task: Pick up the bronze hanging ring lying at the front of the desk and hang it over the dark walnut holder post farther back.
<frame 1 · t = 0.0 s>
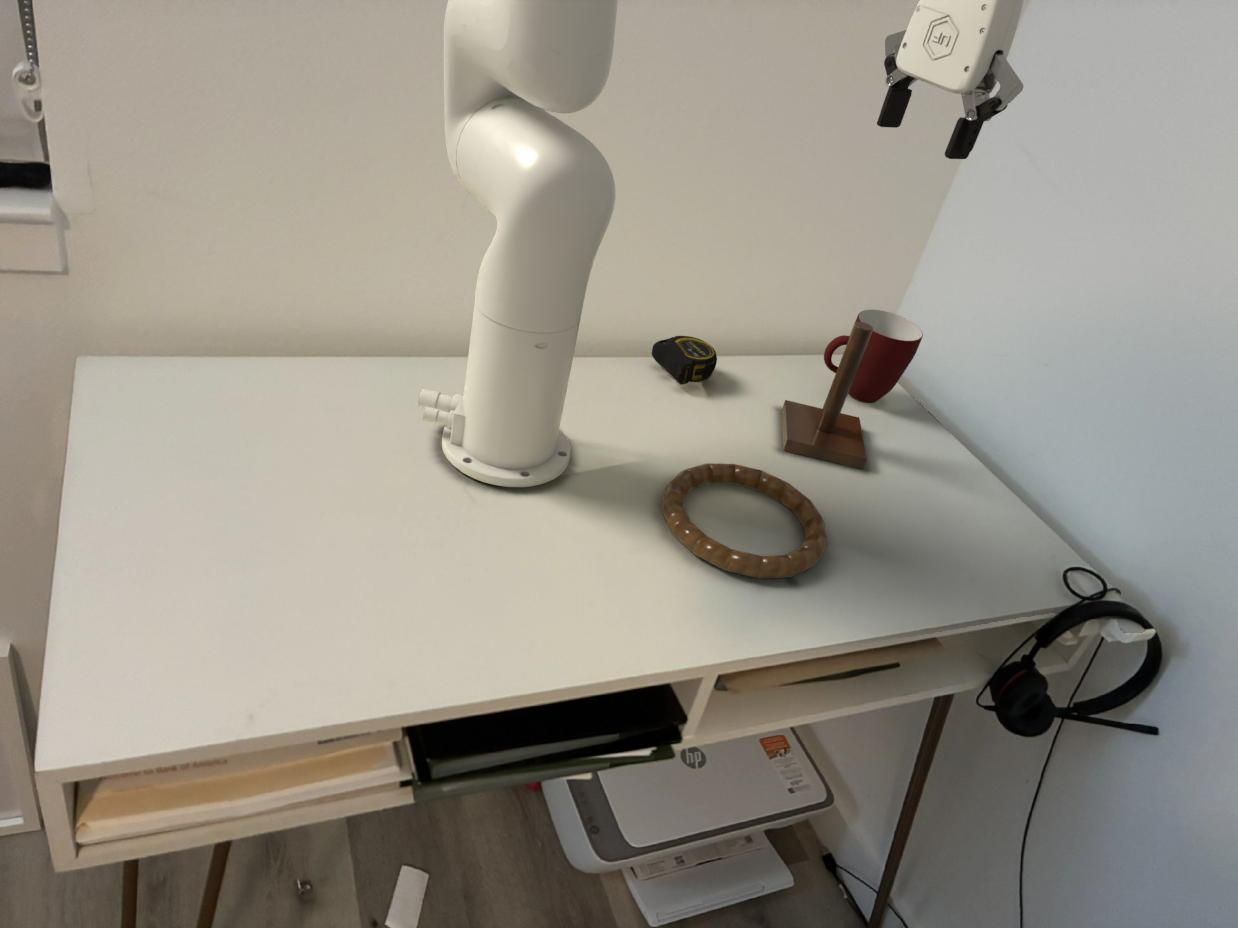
hand: (920, 141, 97), 31 cm above the table, tool pointing down, fingers open, 9 cm apart
tape measure: (679, 377, 111), on the table
ring: (744, 517, 88), point 1 cm above the table
post: (820, 438, 105), on the table
mug: (852, 395, 116), on the table
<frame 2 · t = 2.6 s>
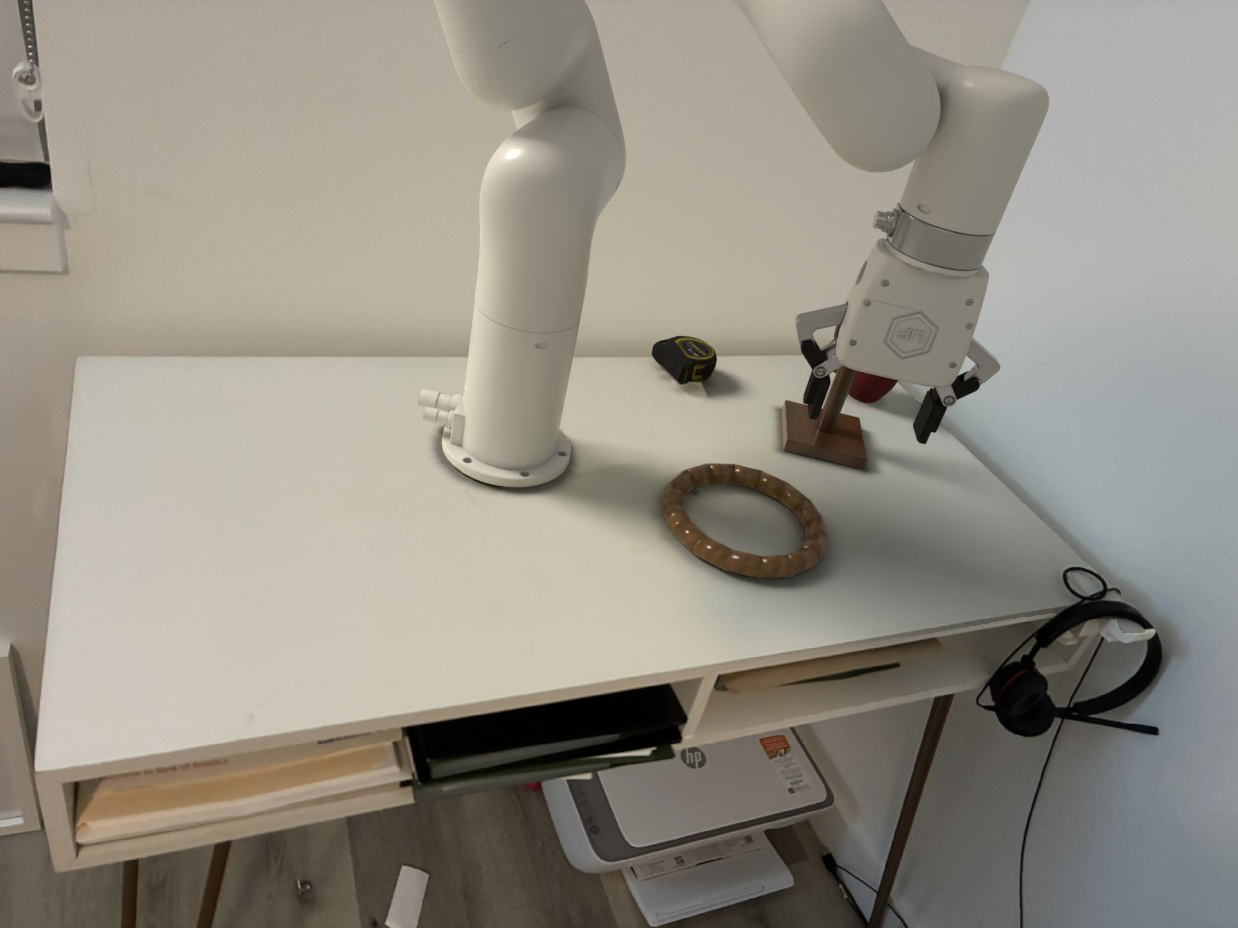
hand: (865, 423, 81), 14 cm above the table, tool pointing down, fingers open, 9 cm apart
nothing on the table moved.
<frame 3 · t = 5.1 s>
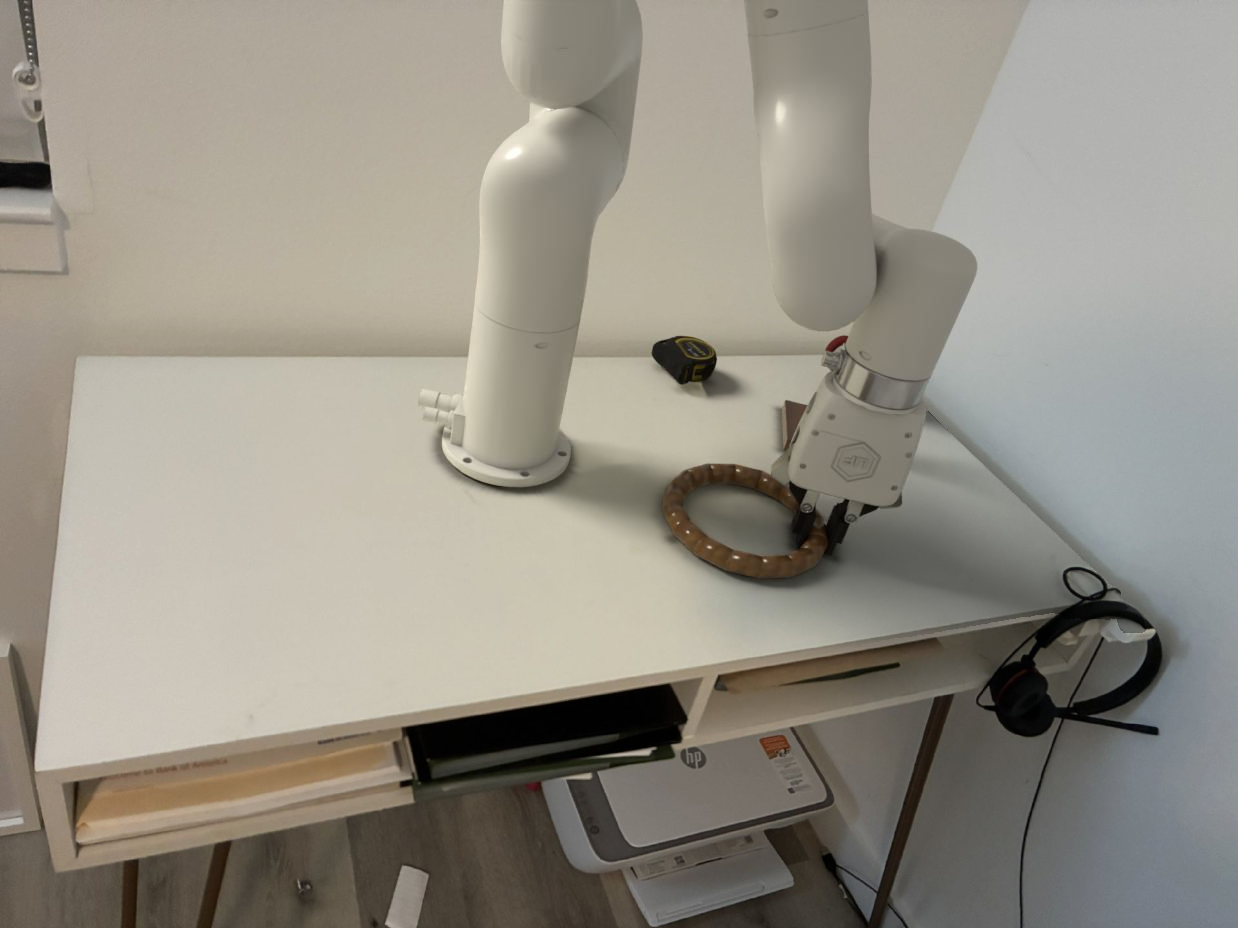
hand: (813, 540, 88), 0 cm above the table, tool pointing down, fingers closed on ring, 2 cm apart
ring: (745, 517, 88), point 1 cm above the table, touching gripper
everything else where it was.
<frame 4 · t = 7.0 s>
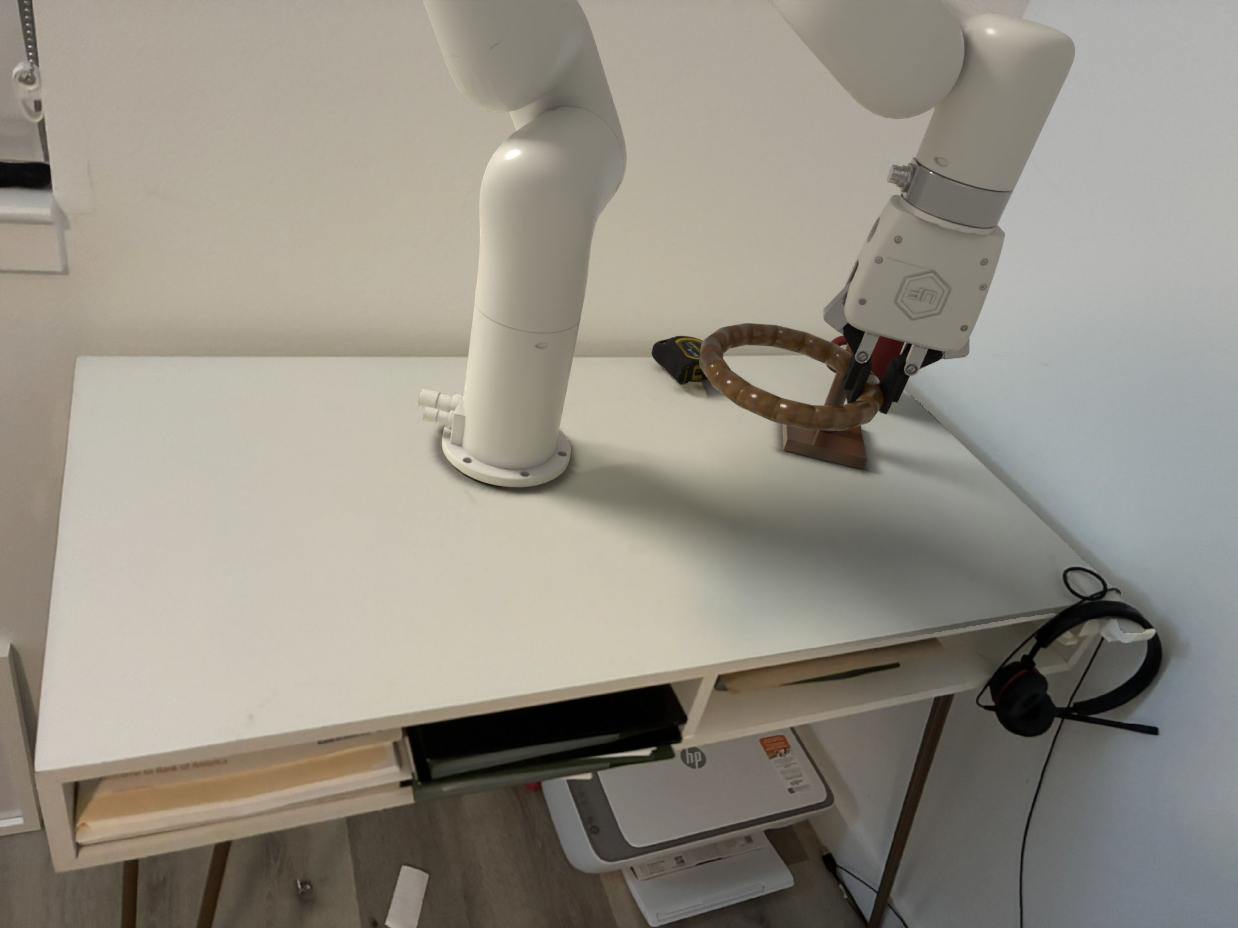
hand: (865, 400, 79), 16 cm above the table, tool pointing down, fingers closed on ring
ring: (790, 373, 79), point 17 cm above the table, touching gripper
everything else where it was.
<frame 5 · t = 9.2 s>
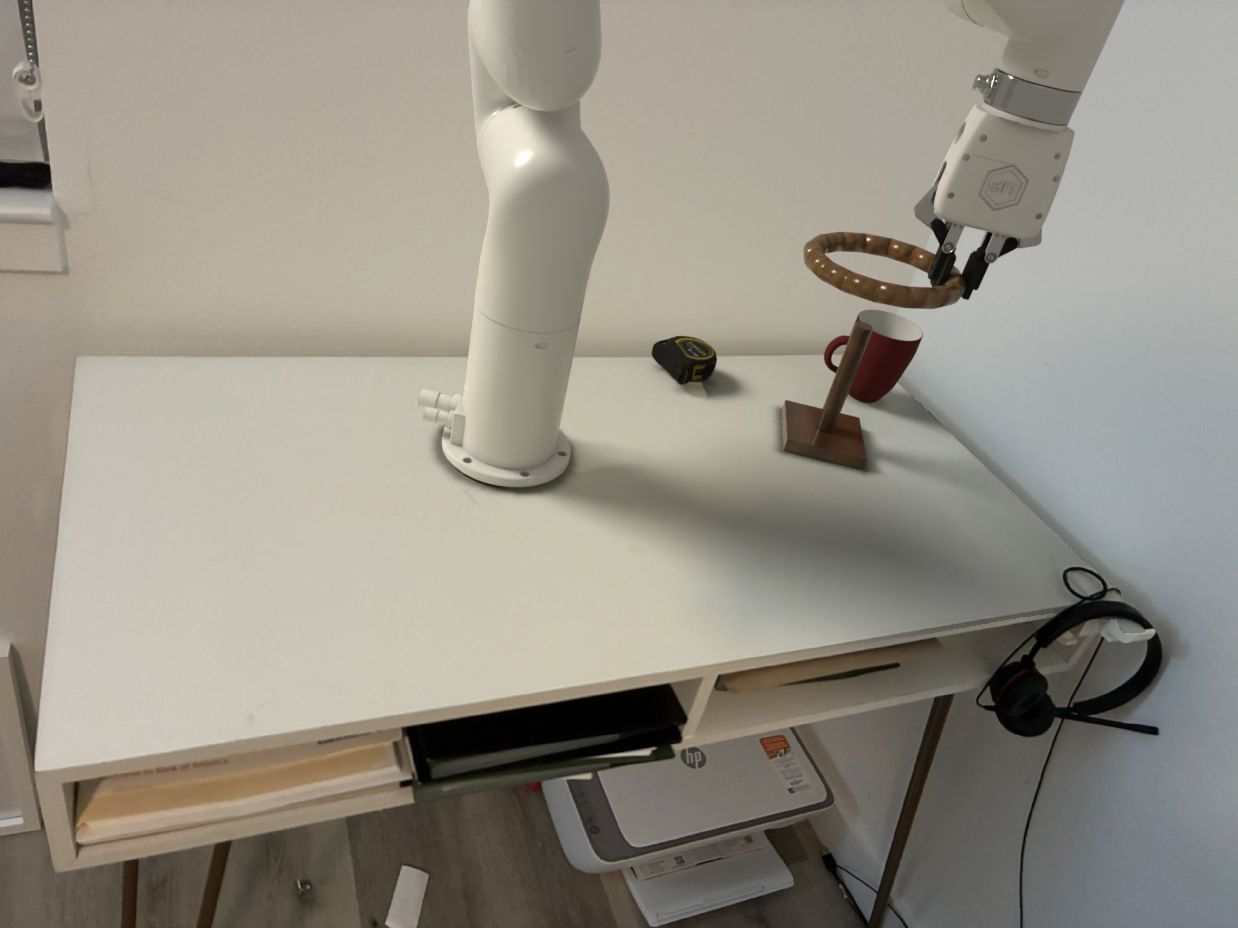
hand: (949, 289, 91), 21 cm above the table, tool pointing down, fingers closed on ring
ring: (883, 268, 91), point 22 cm above the table, touching gripper
everything else where it was.
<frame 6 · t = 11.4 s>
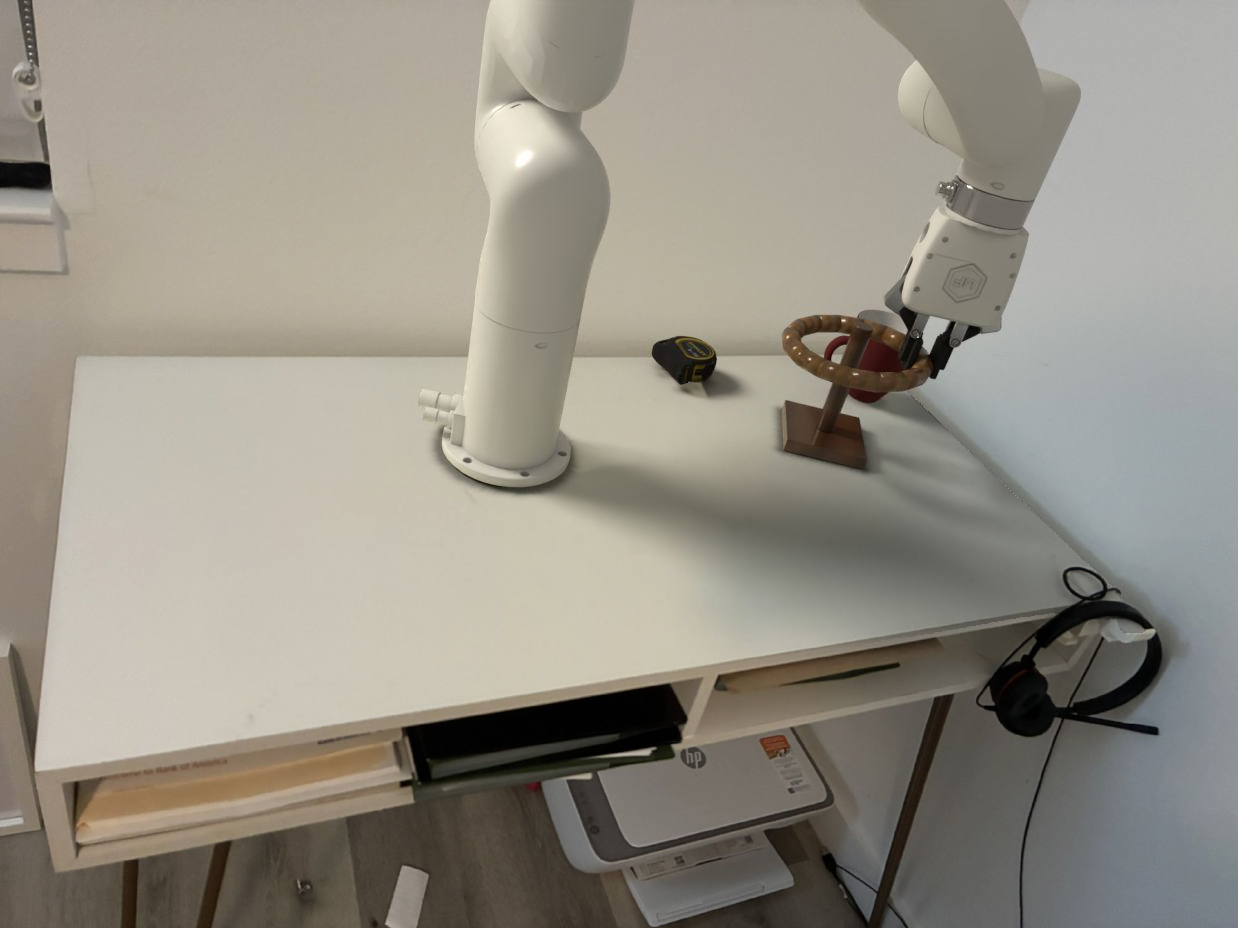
hand: (917, 369, 99), 11 cm above the table, tool pointing down, fingers closed on ring
ring: (856, 351, 99), point 11 cm above the table, touching gripper
everything else where it was.
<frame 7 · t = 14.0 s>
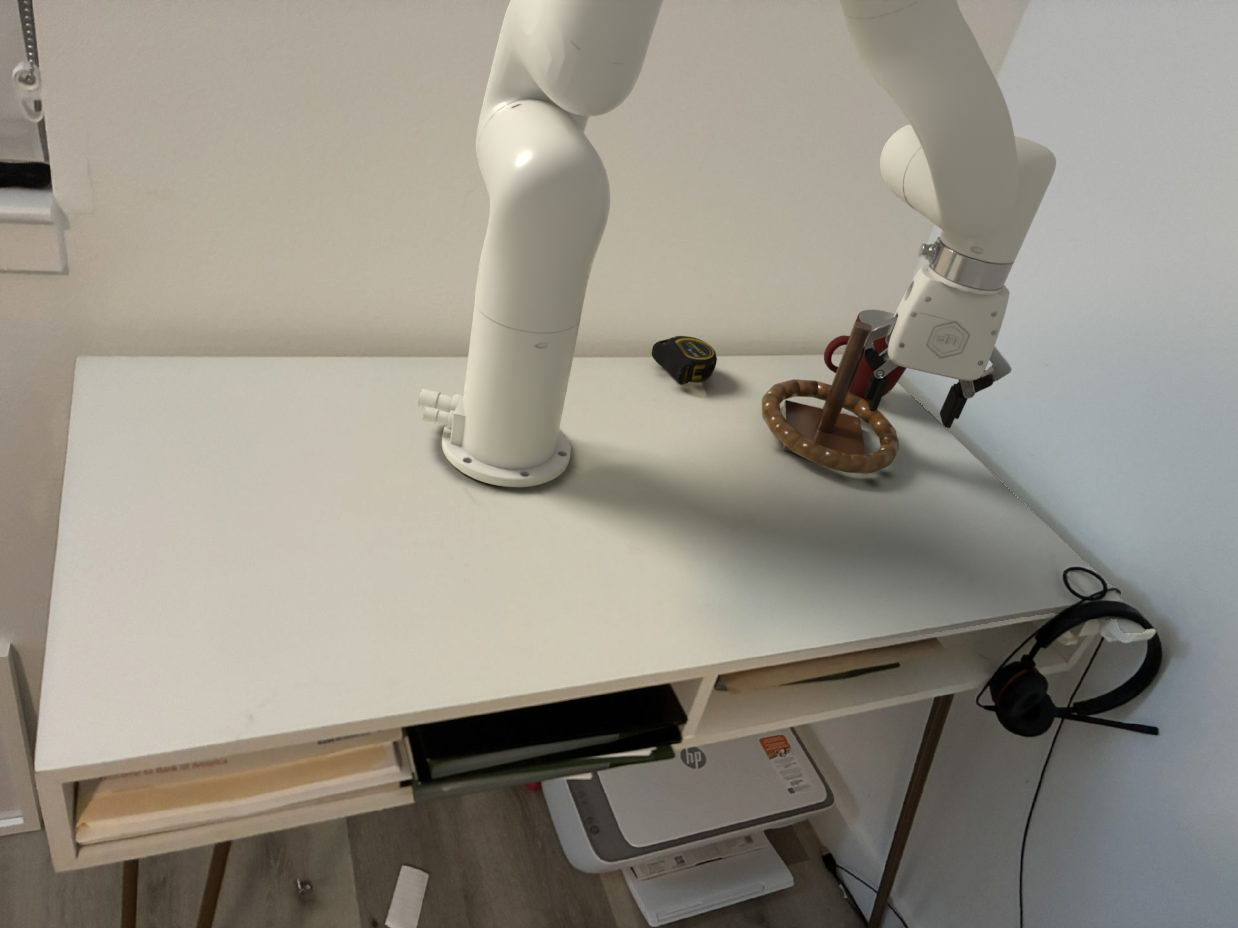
hand: (908, 412, 102), 6 cm above the table, tool pointing down, fingers open, 7 cm apart
ring: (830, 424, 103), point 2 cm above the table, touching post
everything else where it was.
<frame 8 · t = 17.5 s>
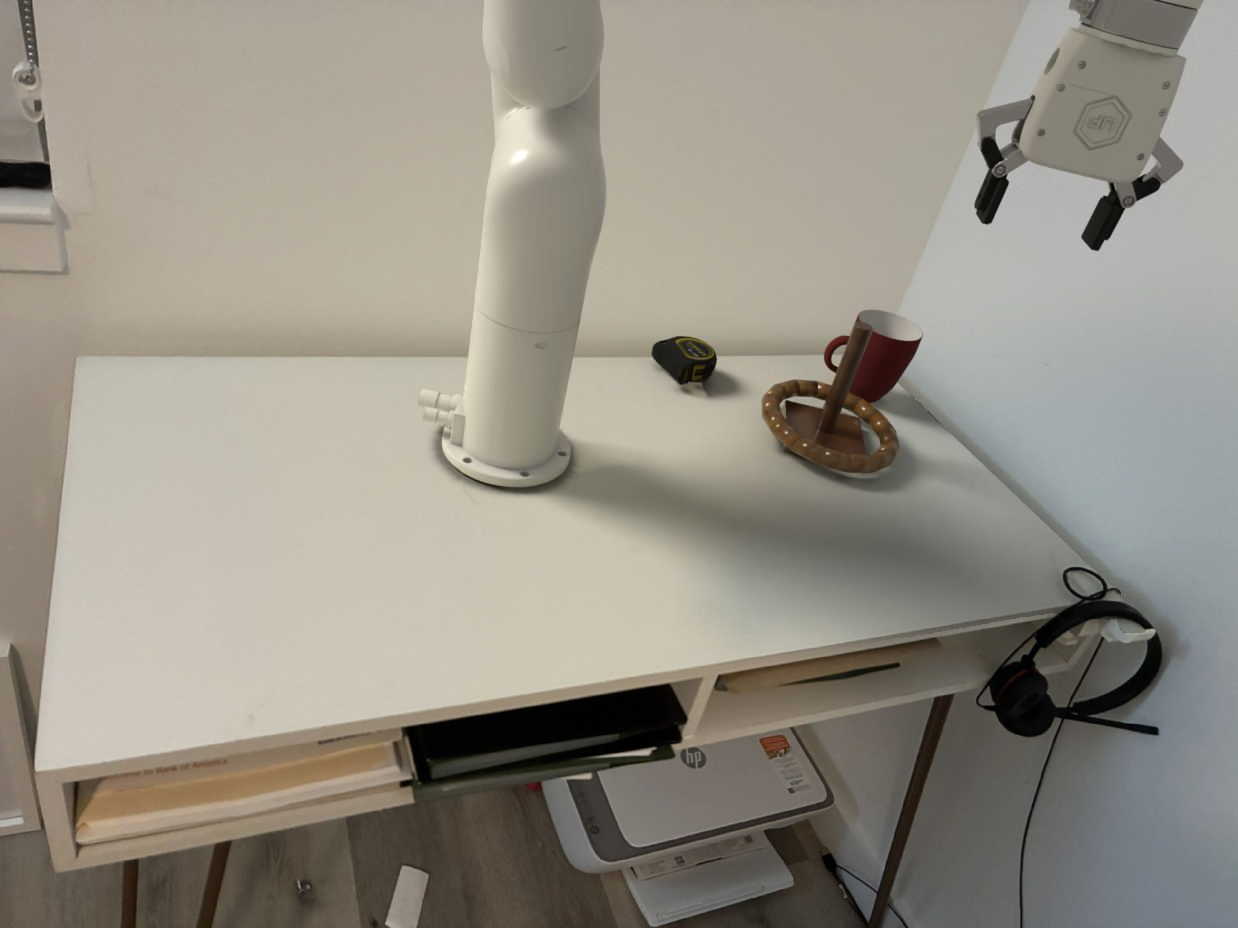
hand: (1035, 232, 81), 30 cm above the table, tool pointing down, fingers open, 9 cm apart
nothing on the table moved.
at the end: ring 0.4 cm from the post (horizontally); ring point 2.2 cm above the table; the gripper is holding nothing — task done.
